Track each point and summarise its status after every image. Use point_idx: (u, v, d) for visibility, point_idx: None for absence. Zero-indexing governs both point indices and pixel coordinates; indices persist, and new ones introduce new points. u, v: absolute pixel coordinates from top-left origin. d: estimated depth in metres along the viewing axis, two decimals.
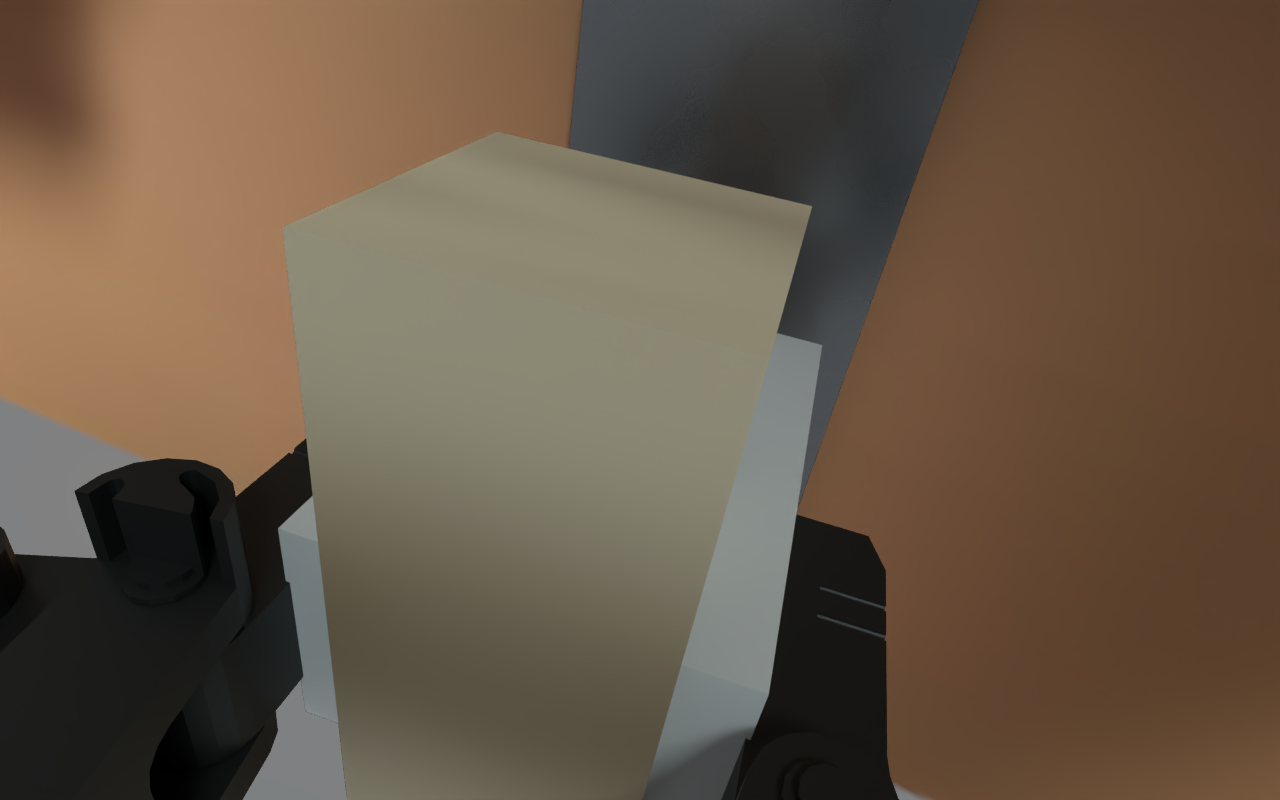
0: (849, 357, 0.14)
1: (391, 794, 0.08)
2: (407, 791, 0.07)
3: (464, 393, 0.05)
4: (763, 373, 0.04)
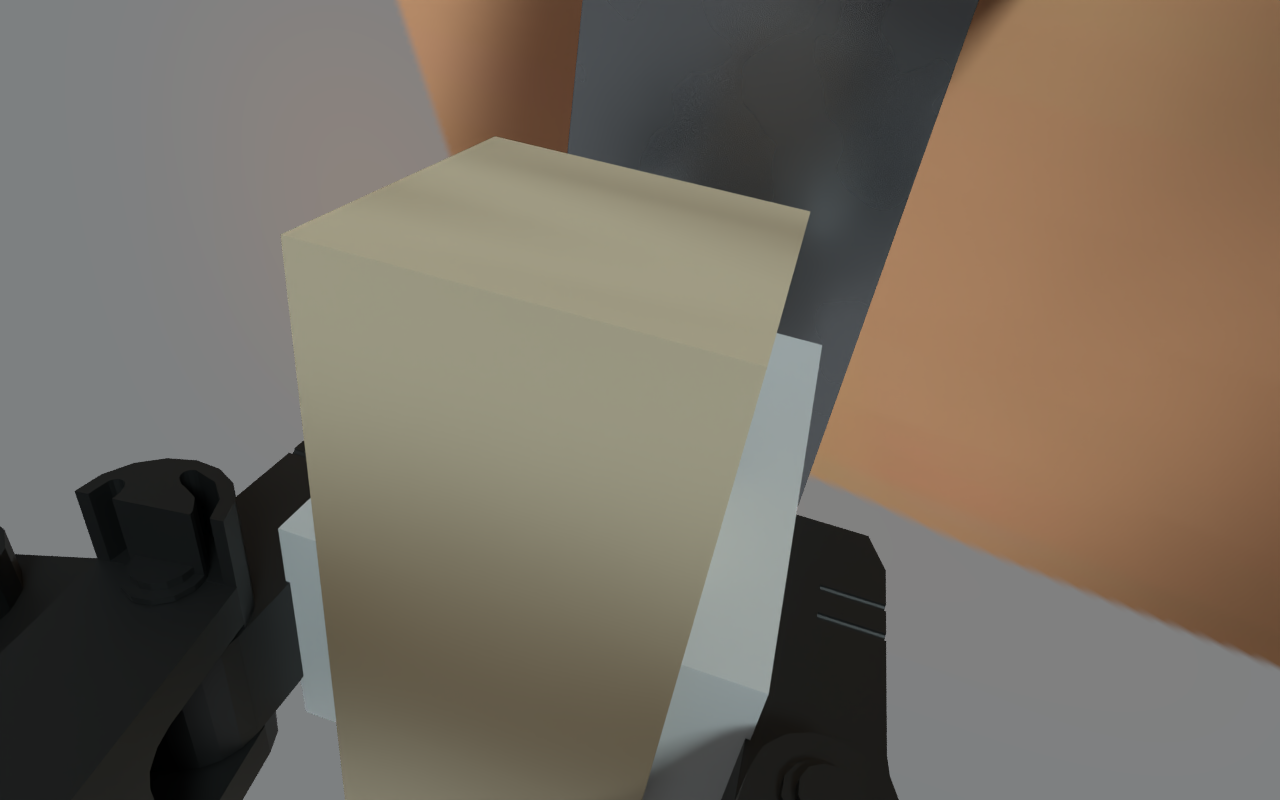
0: (848, 359, 0.14)
1: (390, 798, 0.08)
2: (405, 795, 0.07)
3: (462, 401, 0.05)
4: (761, 381, 0.04)
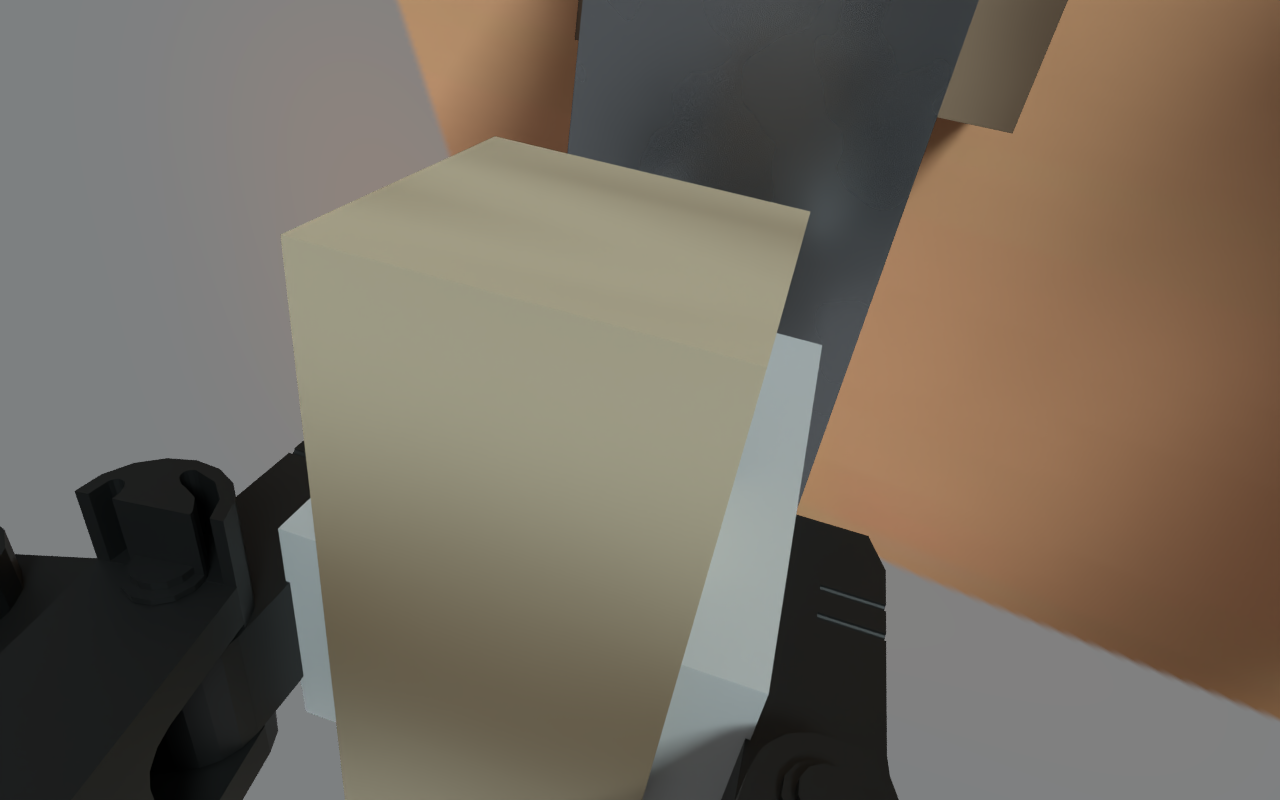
0: (848, 359, 0.14)
1: (390, 798, 0.08)
2: (405, 795, 0.07)
3: (462, 401, 0.05)
4: (760, 381, 0.04)
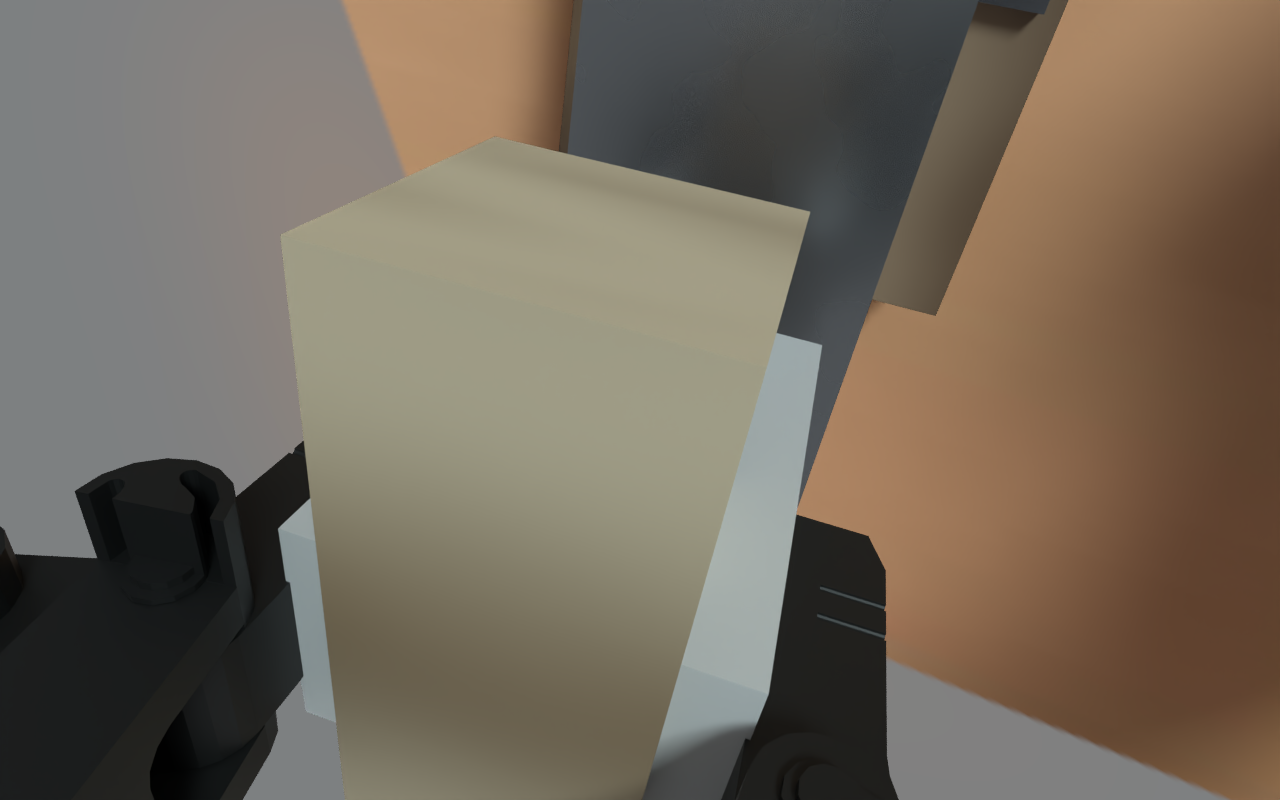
0: (848, 359, 0.14)
1: (389, 798, 0.08)
2: (405, 795, 0.07)
3: (462, 403, 0.05)
4: (760, 381, 0.04)
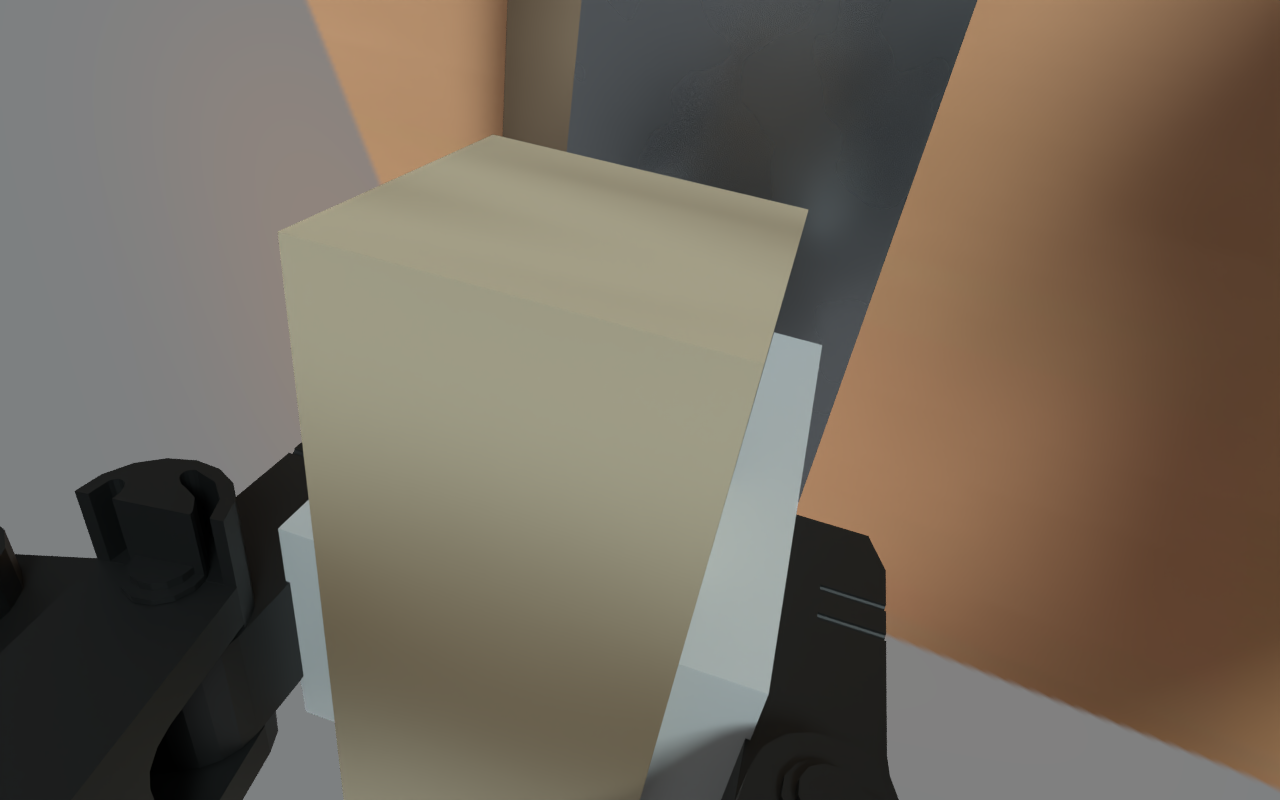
0: (847, 358, 0.14)
1: (388, 797, 0.08)
2: (403, 793, 0.07)
3: (461, 398, 0.05)
4: (758, 378, 0.04)
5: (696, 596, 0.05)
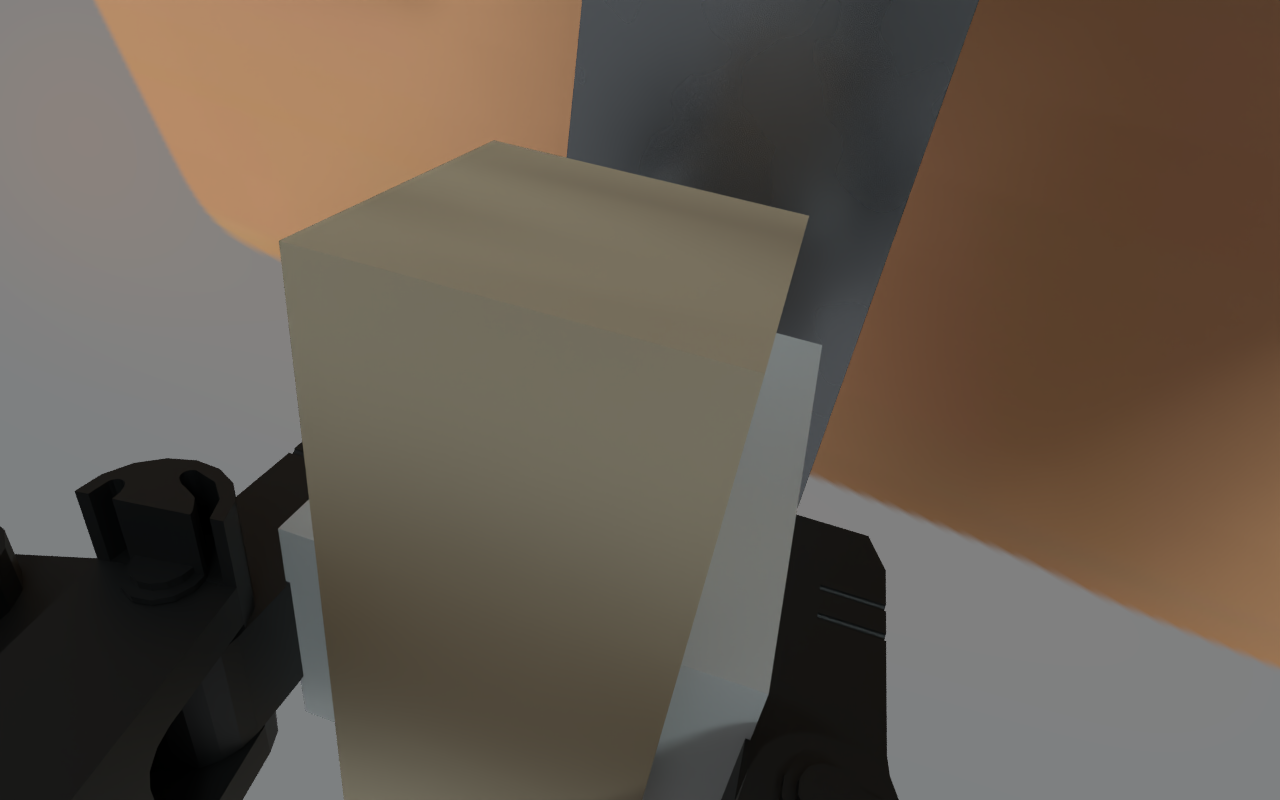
0: (847, 361, 0.14)
1: None
2: (405, 798, 0.07)
3: (461, 406, 0.05)
4: (758, 388, 0.04)
5: (696, 604, 0.05)
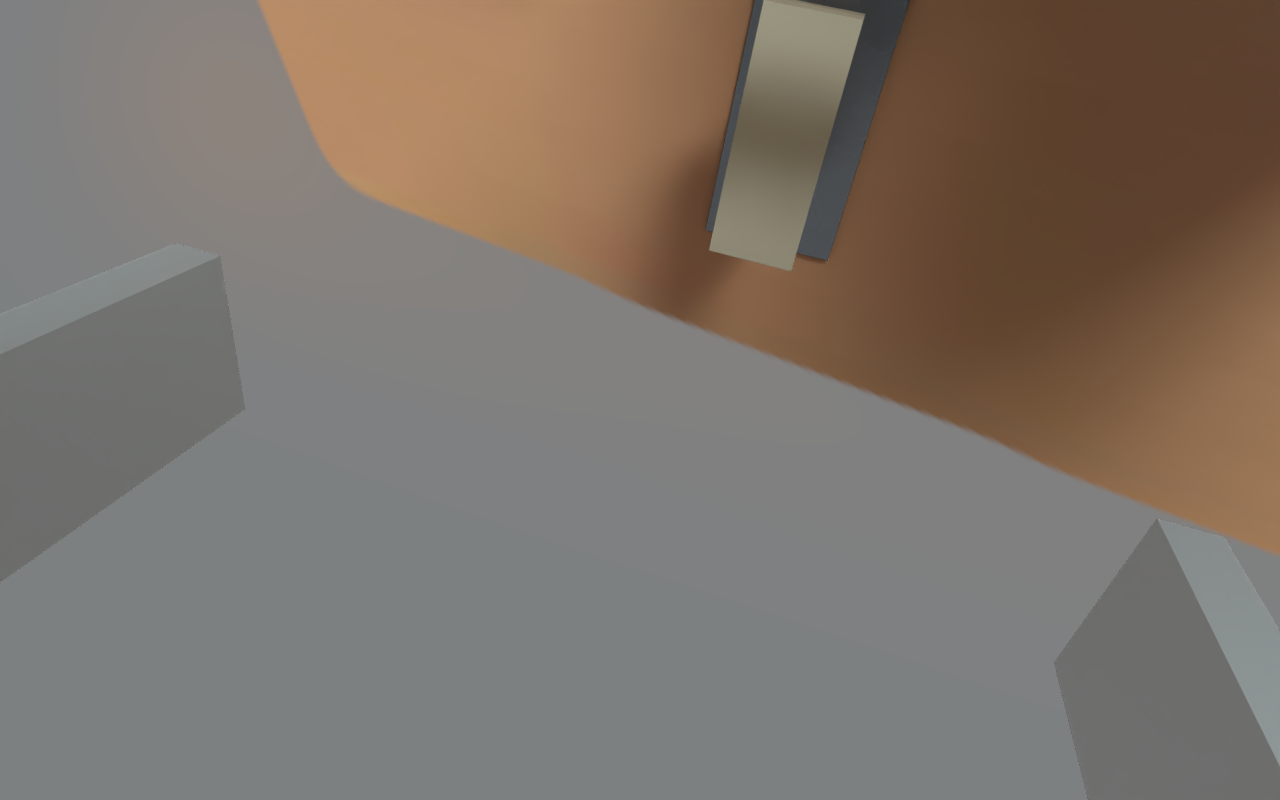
0: (869, 126, 0.32)
1: (736, 198, 0.25)
2: (742, 194, 0.25)
3: (796, 38, 0.22)
4: (861, 24, 0.22)
5: (844, 85, 0.23)
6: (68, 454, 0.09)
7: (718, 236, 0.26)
